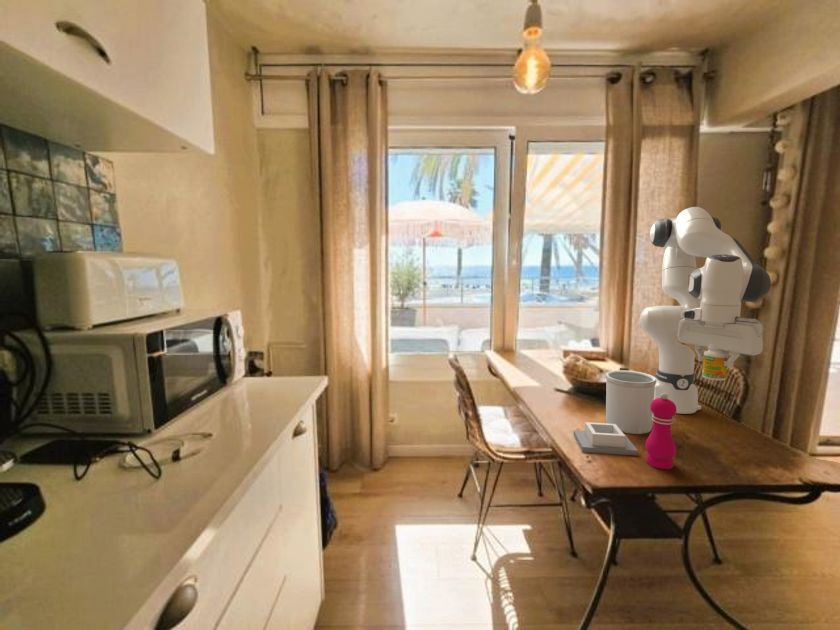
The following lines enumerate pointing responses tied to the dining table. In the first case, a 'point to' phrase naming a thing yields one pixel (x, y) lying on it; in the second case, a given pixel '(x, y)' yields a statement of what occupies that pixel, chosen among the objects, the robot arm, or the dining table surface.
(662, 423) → the pepper mill
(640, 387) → the utensil holder
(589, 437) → the docking board
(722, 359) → the supplement bottle
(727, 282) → the robot arm
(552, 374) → the dining table surface
